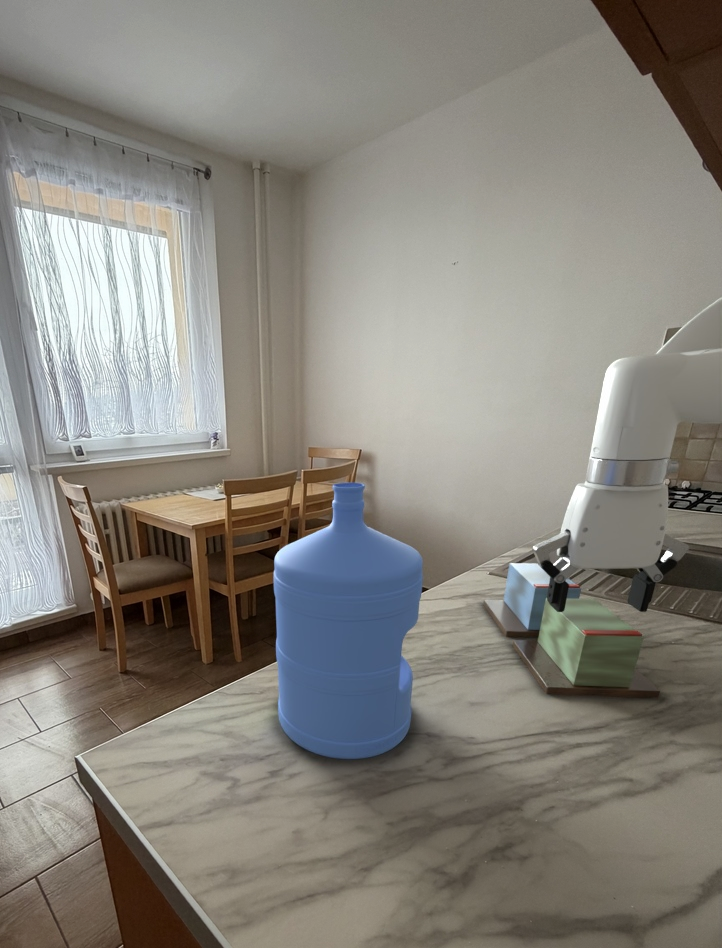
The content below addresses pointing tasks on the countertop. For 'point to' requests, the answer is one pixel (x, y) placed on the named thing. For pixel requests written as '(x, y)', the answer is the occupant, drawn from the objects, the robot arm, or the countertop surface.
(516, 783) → the countertop surface
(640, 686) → the brown wooden board
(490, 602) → the dark brown base plate
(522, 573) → the far tissue box
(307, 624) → the water jug
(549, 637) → the near tissue box
